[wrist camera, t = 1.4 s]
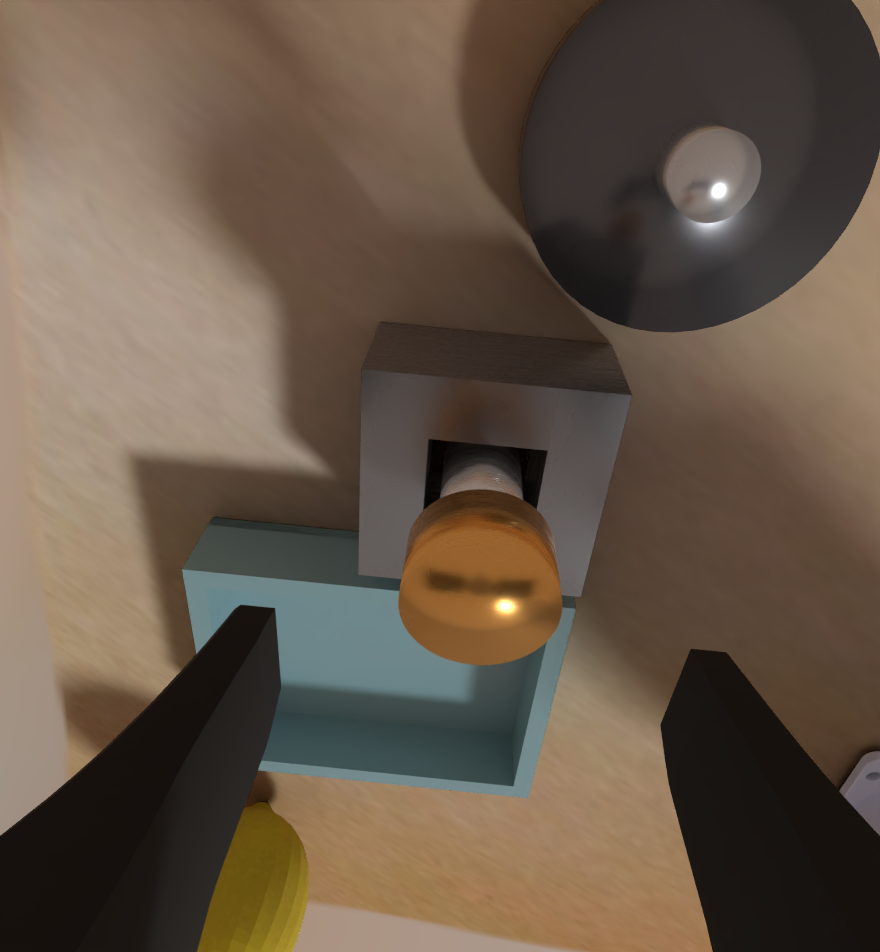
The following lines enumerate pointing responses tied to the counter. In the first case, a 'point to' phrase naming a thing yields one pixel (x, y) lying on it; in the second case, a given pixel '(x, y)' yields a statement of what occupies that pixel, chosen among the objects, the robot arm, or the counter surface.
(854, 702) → the counter surface
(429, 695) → the tray
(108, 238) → the counter surface
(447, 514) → the lock pin
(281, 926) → the lemon
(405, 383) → the dark disc and block
